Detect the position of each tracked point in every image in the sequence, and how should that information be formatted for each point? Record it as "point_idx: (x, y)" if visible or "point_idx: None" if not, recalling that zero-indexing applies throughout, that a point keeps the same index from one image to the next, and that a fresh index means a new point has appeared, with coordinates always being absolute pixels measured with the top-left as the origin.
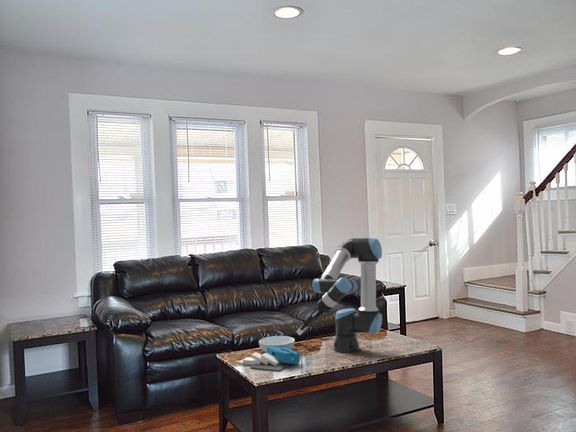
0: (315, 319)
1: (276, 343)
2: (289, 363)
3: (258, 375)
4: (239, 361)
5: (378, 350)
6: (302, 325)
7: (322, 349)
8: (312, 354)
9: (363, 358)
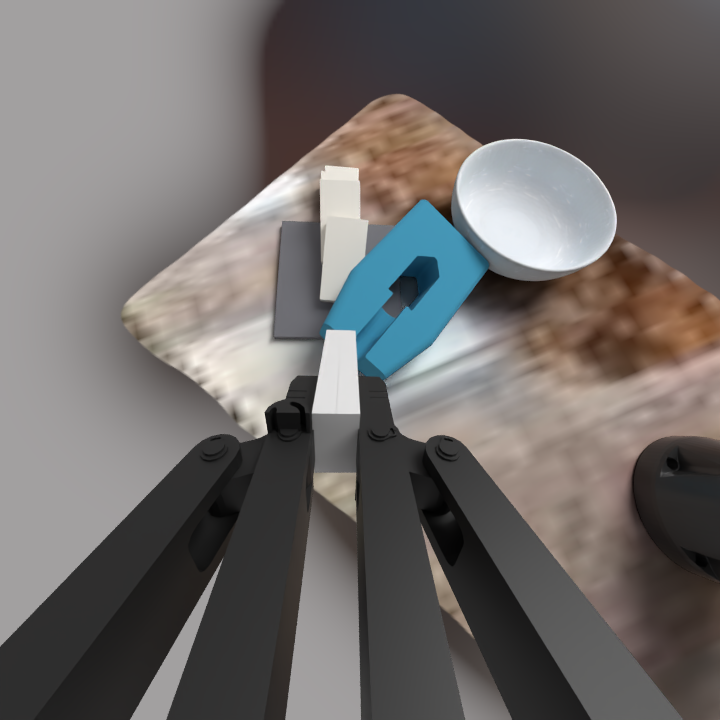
0: (481, 642)
1: (561, 203)
2: None
3: (211, 281)
4: (332, 166)
5: None
6: (317, 394)
7: (626, 391)
8: (541, 377)
9: None
